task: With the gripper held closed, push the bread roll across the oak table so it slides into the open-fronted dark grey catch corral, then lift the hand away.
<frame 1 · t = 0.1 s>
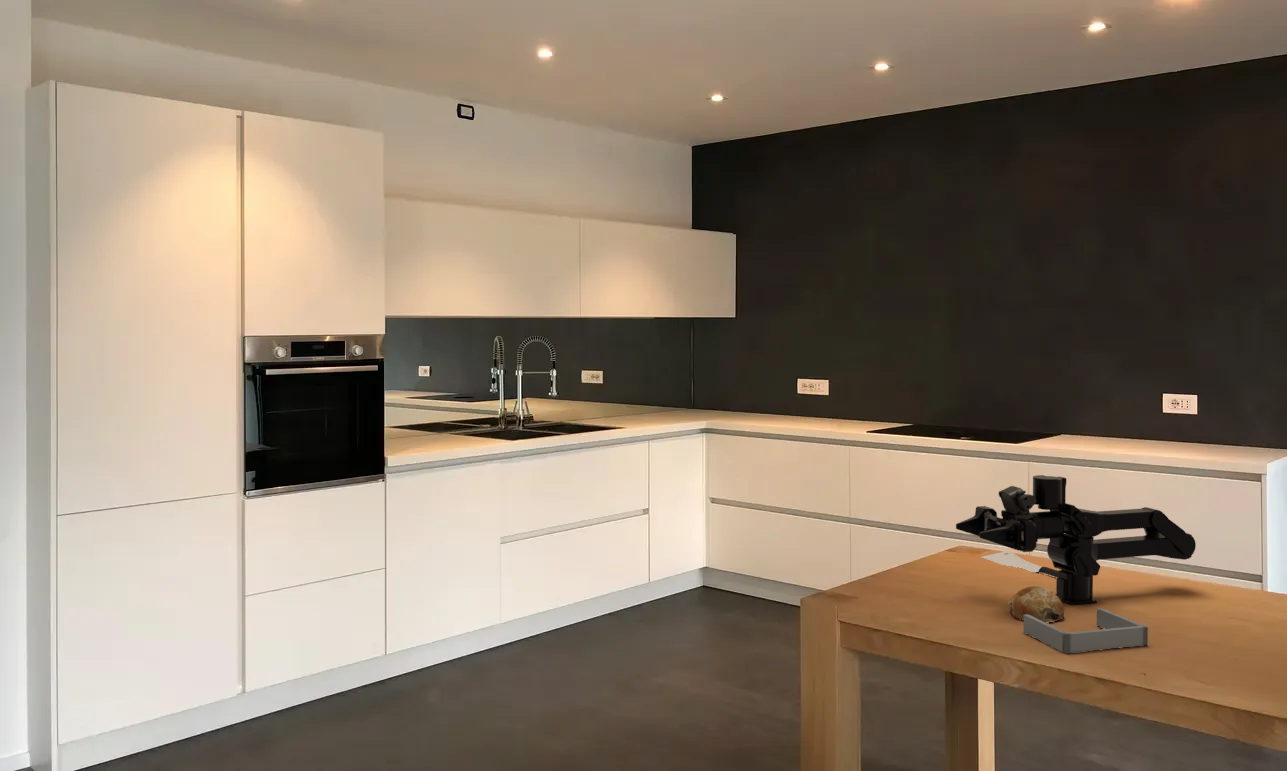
hand: (967, 530, 211), 17 cm above the table, tool horizontal, fingers open, 9 cm apart
catch corral: (1084, 639, 192), on the table
bread roll: (1034, 618, 207), on the table
kitchen cleaver: (1028, 572, 245), on the table
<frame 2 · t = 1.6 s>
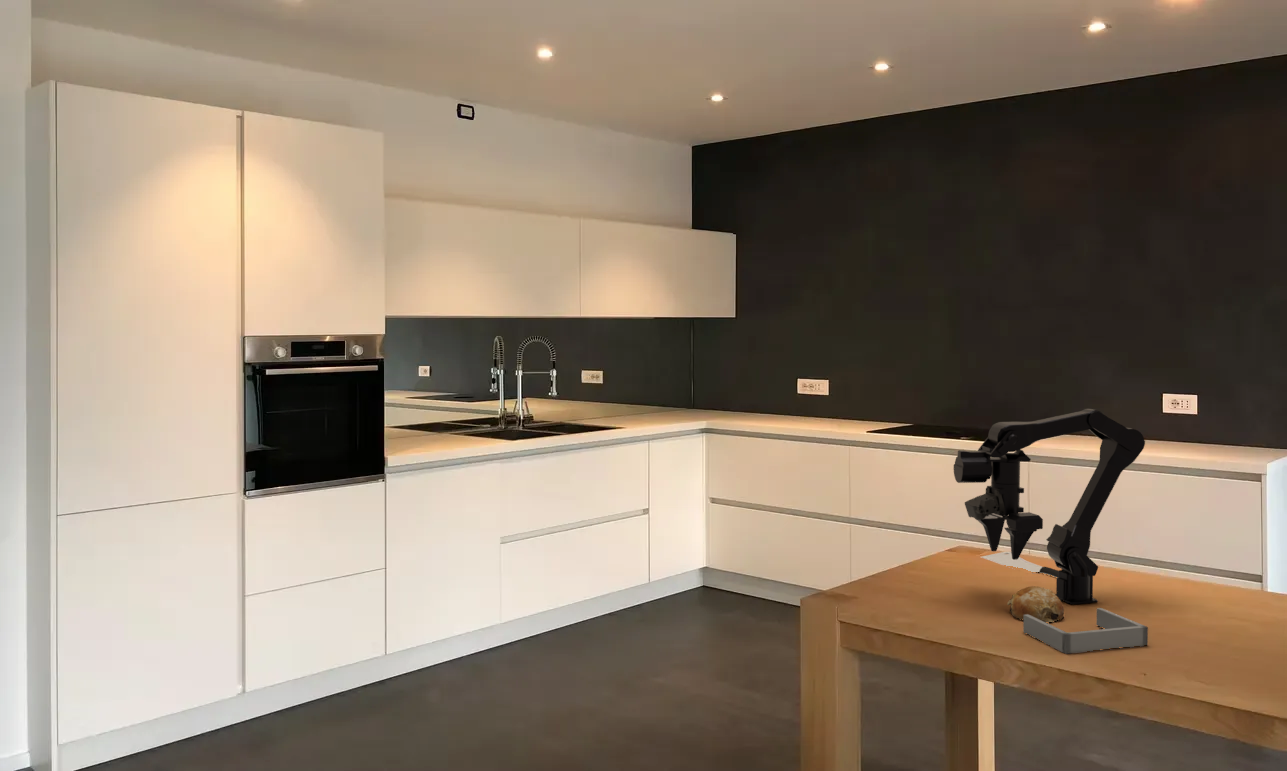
hand: (1004, 555, 217), 10 cm above the table, tool pointing down, fingers open, 8 cm apart
nothing on the table moved.
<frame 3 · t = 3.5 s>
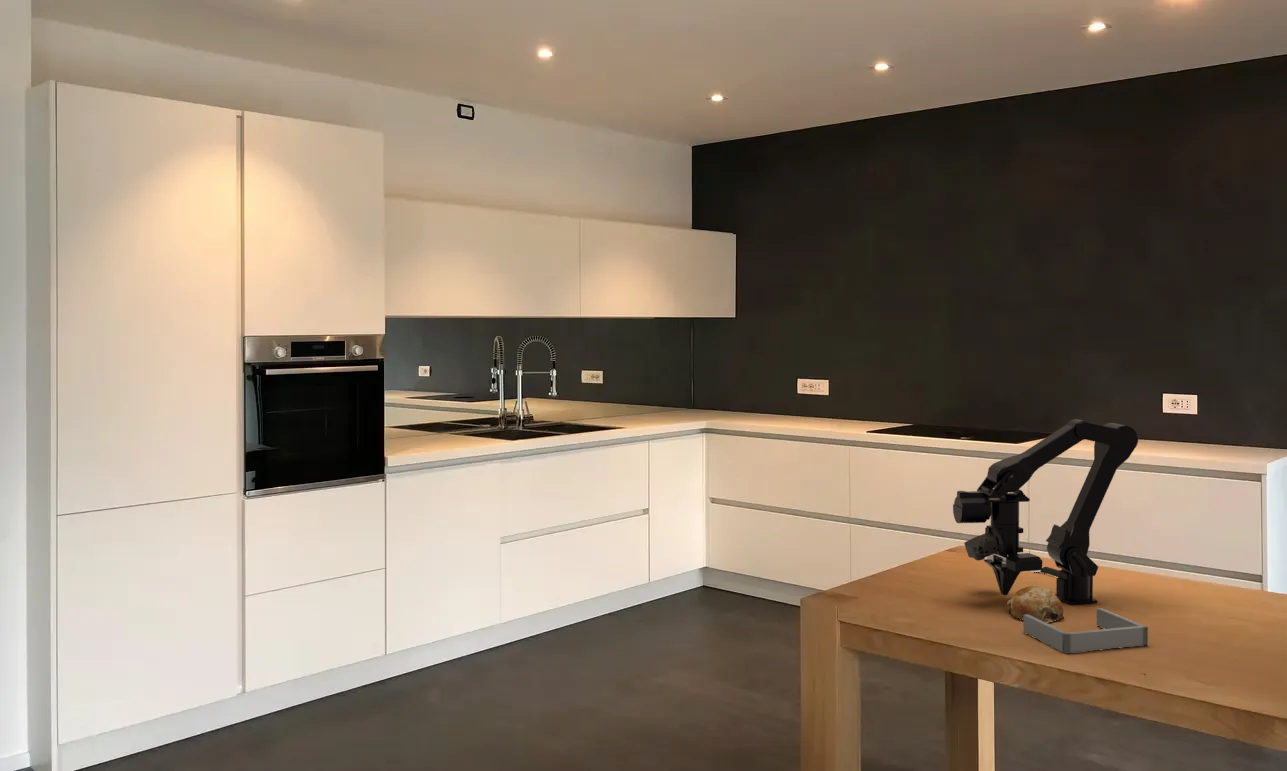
hand: (1004, 594, 217), 2 cm above the table, tool pointing down, fingers closed
nothing on the table moved.
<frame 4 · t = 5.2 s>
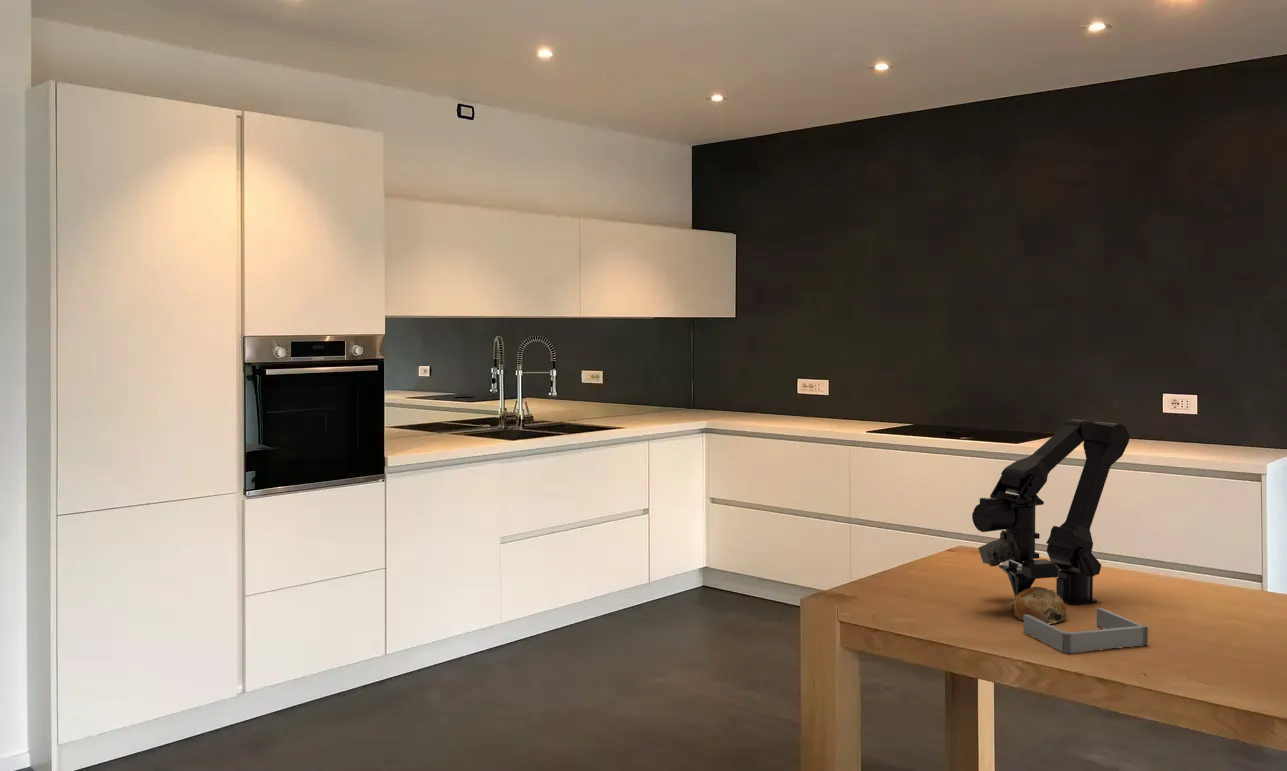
hand: (1019, 601, 212), 2 cm above the table, tool pointing down, fingers closed
bread roll: (1037, 618, 206), on the table, touching gripper
everything else where it was.
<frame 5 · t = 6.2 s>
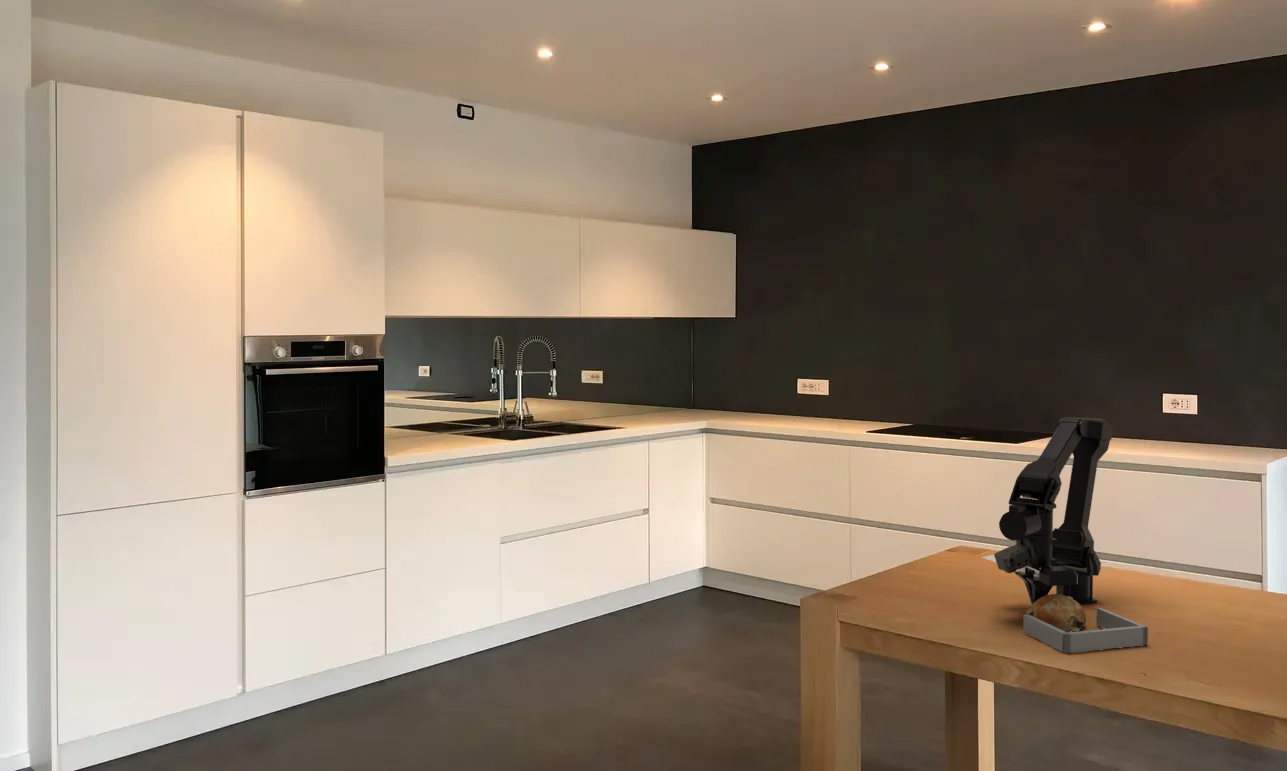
hand: (1036, 609, 206), 2 cm above the table, tool pointing down, fingers closed
bread roll: (1055, 626, 201), on the table, touching gripper
everything else where it was.
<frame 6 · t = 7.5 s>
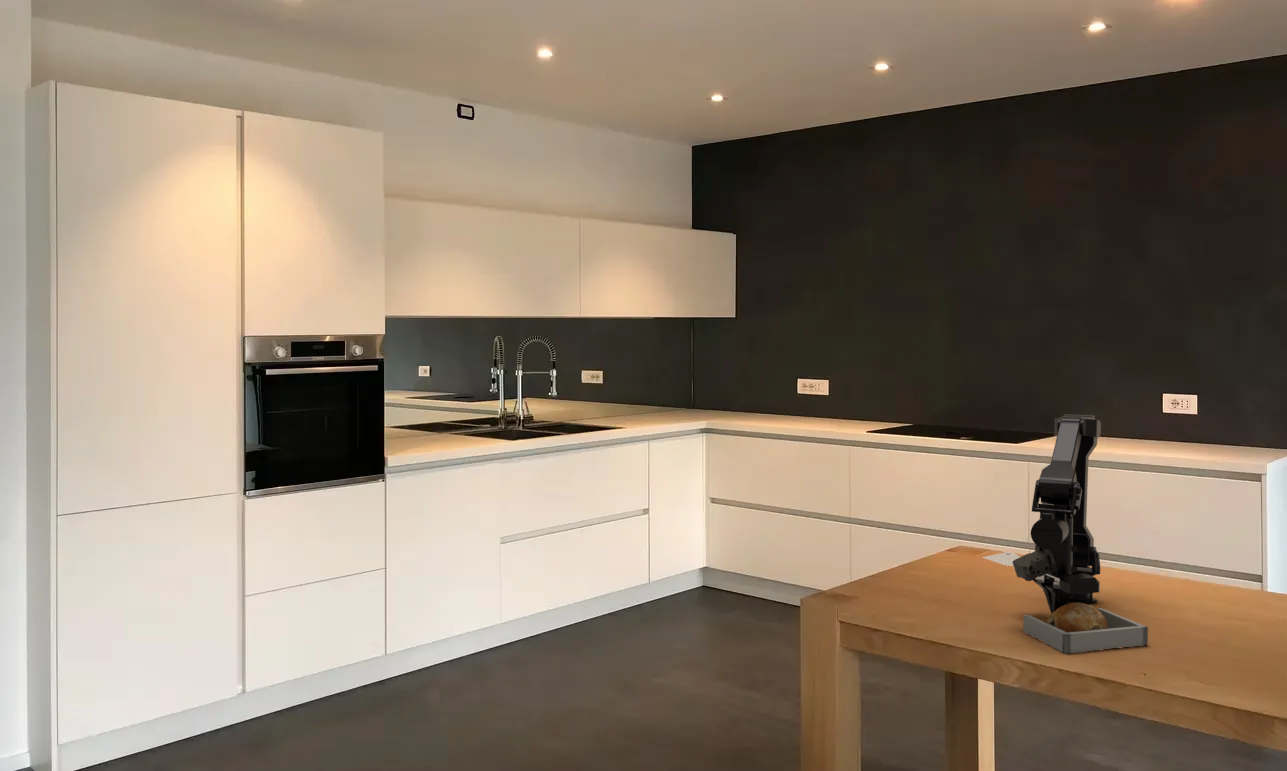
hand: (1055, 618, 200), 2 cm above the table, tool pointing down, fingers closed
bread roll: (1076, 636, 194), on the table, touching gripper
everything else where it was.
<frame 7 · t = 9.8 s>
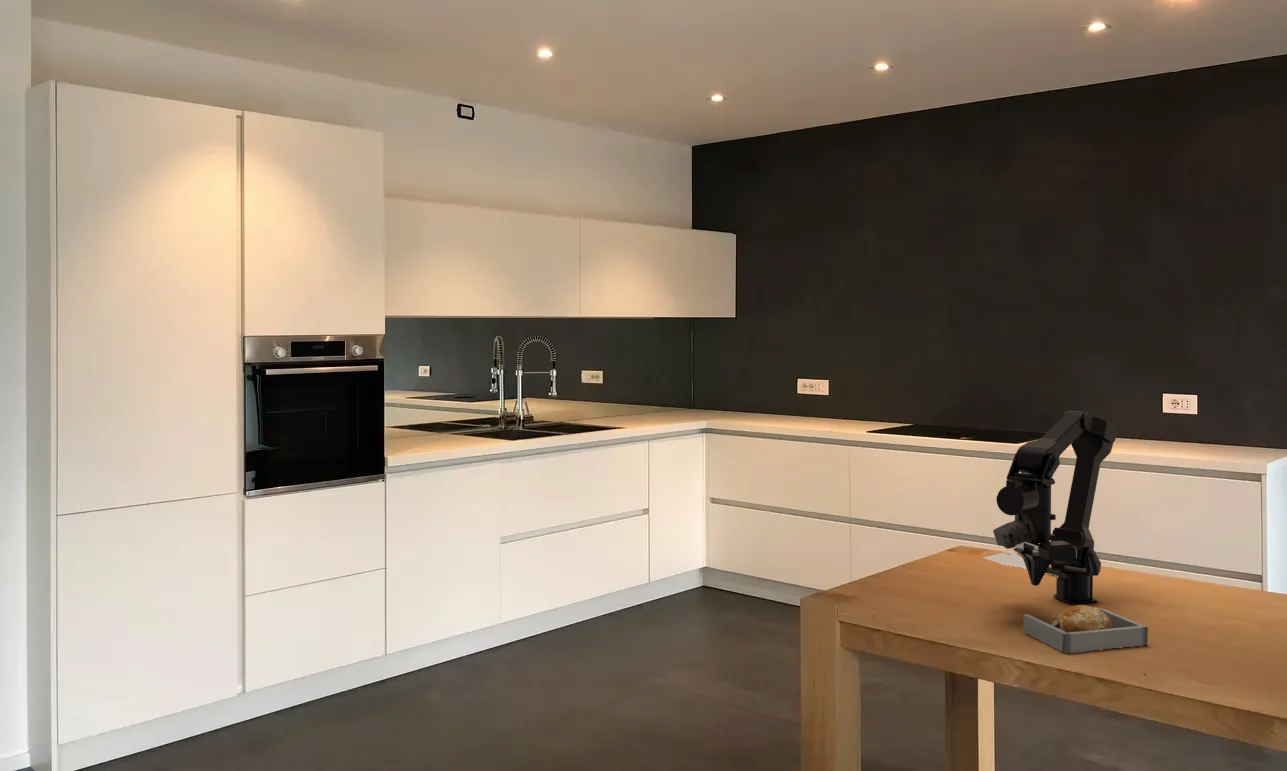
hand: (1035, 585, 206), 6 cm above the table, tool pointing down, fingers closed
bread roll: (1082, 639, 193), on the table
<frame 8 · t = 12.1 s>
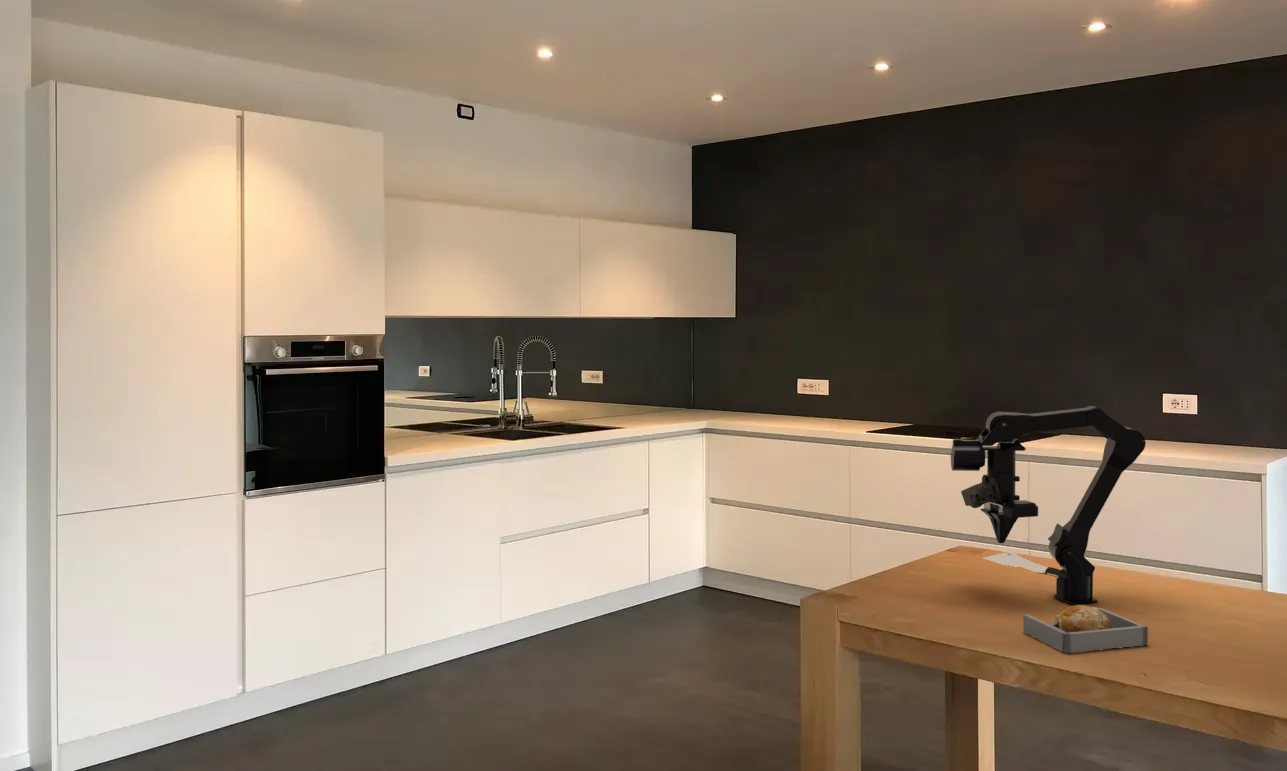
hand: (1000, 542, 220), 12 cm above the table, tool pointing down, fingers closed
at the end: bread roll inside the target area (1.5 cm from its centre), on the table; bread roll moved 14.3 cm from its start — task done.
